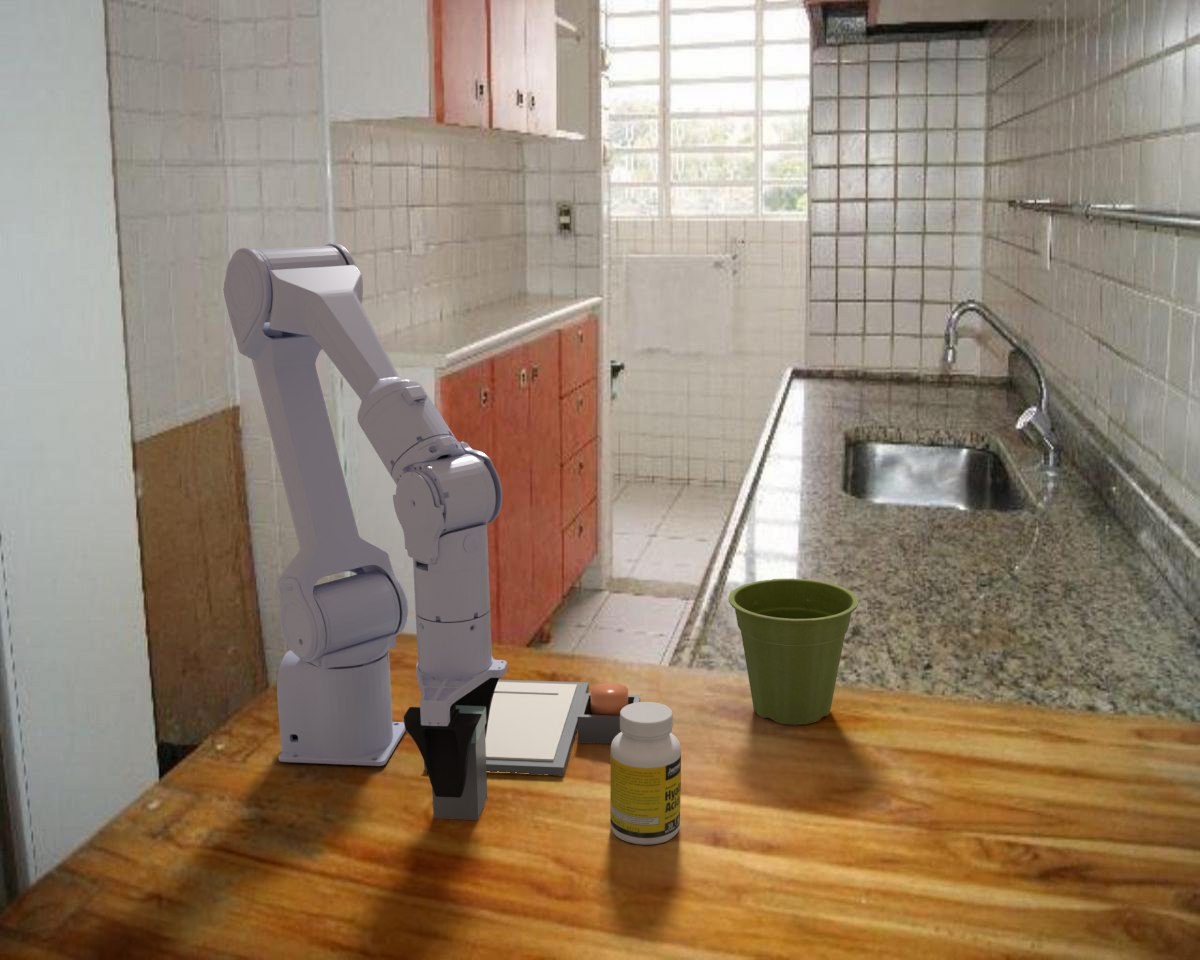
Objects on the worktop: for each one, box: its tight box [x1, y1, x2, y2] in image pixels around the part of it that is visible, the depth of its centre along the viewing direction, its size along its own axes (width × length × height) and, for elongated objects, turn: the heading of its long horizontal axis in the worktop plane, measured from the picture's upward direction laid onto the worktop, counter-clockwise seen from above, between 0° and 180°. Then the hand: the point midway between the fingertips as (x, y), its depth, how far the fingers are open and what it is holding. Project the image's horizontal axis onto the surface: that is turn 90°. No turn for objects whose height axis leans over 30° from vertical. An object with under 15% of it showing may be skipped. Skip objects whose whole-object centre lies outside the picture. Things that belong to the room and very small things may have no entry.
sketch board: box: [423, 679, 589, 777], centre depth 113 cm, size 12×18×1 cm, turn 174°
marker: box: [431, 705, 488, 821], centre depth 98 cm, size 4×4×8 cm
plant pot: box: [728, 578, 860, 726], centre depth 115 cm, size 12×12×11 cm
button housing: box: [577, 692, 641, 745], centre depth 112 cm, size 5×5×2 cm
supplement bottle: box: [609, 701, 682, 846], centre depth 94 cm, size 5×5×10 cm
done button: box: [590, 682, 629, 716], centre depth 111 cm, size 3×3×2 cm
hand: (459, 771), depth 98 cm, fingers open, 7 cm apart
